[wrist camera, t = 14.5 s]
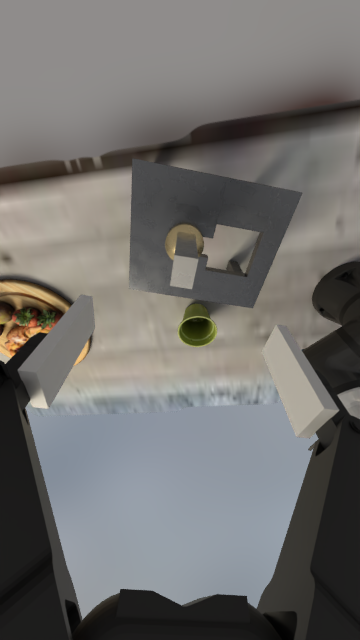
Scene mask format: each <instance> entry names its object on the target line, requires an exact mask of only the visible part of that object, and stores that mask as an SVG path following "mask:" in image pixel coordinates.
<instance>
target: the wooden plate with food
mask: <svg viewBox="0 0 360 640" xmlns="http://www.w3.org/2000/svg"><path fill="white" fill-rule="evenodd" d="M71 306H72V305H71V304H70V303H69V302H67V301H66V300H65V299H64V298H62V297H61V296H59V295H58V294H56V293H55V292H53V291H51V290H49V289H47V288H44V287H42V286H40V285H37V284H34V283H31V282H26V281H21V280H12V279H7V280H0V352H1V353H3V354H4V355H6V356H8V357H9V358H12V357H13V356H14V355H15V354H16V352H17V351H19V349H20V348H21V347H22V346H24V344H25V343H26V342H27V341H28V339H29V338H30V337H32V336H34V335H36V334H37V333H39V332H42V333H49V332H50V331H51V330H52V328H53V327H54V326H55V325H56V324H57V322H58V321H59V320H60V319H61V318H62V317H63V315H64V314H65V313H66V312H67V311H68V309H69V308H70V307H71ZM90 343H91V339H90V338H89V339H88V341H87V343H86V345H85V346H84V348H83V350H82V352H81V353H80V355H79V357H78V359H77V360H76V362H75V364H74V365H76V364H78V363H79V362H81V361H82V360H83V359H84V358H85V357H86V355H87V354H88V352H89V349H90ZM74 365H73V366H74Z"/></svg>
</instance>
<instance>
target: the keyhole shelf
mask: <svg viewBox="0 0 360 640" xmlns="http://www.w3.org/2000/svg"><path fill="white" fill-rule="evenodd" d="M301 195H302V193H301V192H297V191H292V190H287V189H282V188H277V187H272V186H267V185H262V184H257V183H252V182H247V181H242V180H237V179H232V178H227V177H222V176H217V175H212V174H207V173H202V172H197V171H192V170H187V169H183V168H178V167H173V166H168V165H163V164H158V163H153V162H148V161H143V160H138V159H133V161H132V198H131V235H130V271H129V289H133V290H139V291H146V292H152V293H159V294H165V295H171V296H178V297H184V298H191V299H197V300H203V301H210V302H216V303H223V304H229V305H236V306H242V307H248V308H253V306H254V304H255V302H256V299H257V297H258V295H259V293H260V290H261V288H262V286H263V283H264V281H265V279H266V276H267V274H268V272H269V269H270V267H271V265H272V262H273V260H274V258H275V255H276V253H277V251H278V248H279V246H280V244H281V241H282V239H283V237H284V234H285V232H286V230H287V228H288V225H289V223H290V221H291V218H292V216H293V214H294V211H295V209H296V207H297V204H298V202H299V200H300V197H301ZM182 223H188V224H191V225H193V226H195V227H196V228H197V229H198V230H199V231H200V232H201V234H202V236H203V237H208V238H213V236H214V232H215V228H216V224H220V225H225V226H231V227H236V228H242V229H247V230H252V231H258V232H260V234H259V237H258V240H257V242H256V245H255V248H254V250H253V253H252V256H251V259H250V261H249V264H248V267H247V270H246V272H245V273H243V272H242V270H241V268H240V266H239V265H238V263H237V262H234V261H229V262H228V265H227V268H226V269H227V270H221V269H215V268H209V267H206V264H207V260H208V256H207V255H205V254H201V255H200V257H199V258H198V259H199V260H198V264H197V269H196V273H195V278H194V282H193V287H192V289H187V288H181V287H175V286H170V282H171V275H172V267H173V260H172V259H171V258H170V257H169V255H168V254H167V252H166V248H165V241H166V237H167V234H168V232H169V231H170V230H171V229H172V228H173V227H174V226H176V225H178V224H182Z"/></svg>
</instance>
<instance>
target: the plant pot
mask: <svg viewBox="0 0 360 640" xmlns="http://www.w3.org/2000/svg"><path fill="white" fill-rule="evenodd" d="M193 320H197V321H193ZM216 335H217V327H216V324H215V323H214V322H213V321H212V320H211V318H210V316H209V314H208V311H207V309H206V308H205V307H204V306H203V305H201V304H192V305H190V306H189V307H187V308H186V310H185V314H184V318H183V321H182V322H181V323H180V325H179V327H178V336H179V338H180V340H181V341H182V342H183V343H185V344H186V345H189V346H192V347H201V346H205V345H208V344H209V343H211V342H212V341H213V340H214V339H215V337H216Z"/></svg>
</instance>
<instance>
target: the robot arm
mask: <svg viewBox="0 0 360 640" xmlns="http://www.w3.org/2000/svg"><path fill="white" fill-rule="evenodd" d="M312 302H313V306H314V308H315V309H316V310H317V311H318V313H319V314H320V315H321V316H323V317H324V318H326V319H329V320H331V321H333V322H335V323H338V324H340V325H342V327H340V328H339V329H337V330H335V331H333V332H332V333H330V334H329V335H327V336H325V337H324V338H322V339H320V340H319V341H317V342H315V343H314V344H312V345H311V346H309V347H307V348H306V349H302V350H301V349H300V347H299V346H298V344H297V342H296V341H295V339H294V338H293V336H292V334H291V333H290V331H289V330H288V328H287V326H283V325H276V326H275V328H274V330H273V331H272V333H271V335H270V337H269V339H268V341H267V343H266V345H265V346H264V348H263V350H262V354H263V356H264V359H265V361H266V364H267V366H268V368H269V371H270V373H271V376H272V378H273V381H274V383H275V386H276V388H277V391H278V393H279V395H280V398H281V400H282V403H283V405H284V408H285V410H286V413H287V415H288V418H289V420H290V422H291V425H292V427H293V430H294V432H295V435H296V437H302V438H310V437H311V436H313V435H314V434H315V433H316V434H317V436H318V438H319V439H318V440H317V441H316V442H315V443H314V444H313V445H312V446H310V448H309V449H308V450H310V451H311V450H312V449H313V448H314V449H313V452H312V456H311V458H310V462H309V465H308V468H307V471H306V474H305V478H304V480H303V484H302V487H301V490H300V493H299V496H298V499H297V503H296V506H295V509H294V512H293V515H292V518H291V521H290V525H289V528H288V531H287V534H286V537H285V541H284V544H283V547H282V550H281V553H280V556H279V559H278V562H277V565H276V569H275V572H274V575H273V578H272V579H271V581H270V583H269V584H268V585H267V587H266V588H265V590H264V592H263V594H262V596H261V599H260V601H259V604H258V607H257V609H256V608H254V607H253V606H251V605H250V604H249V603H248V602H247V596H237V595H219V594H217V595H212V596H208V597H203V598H199V599H197V600H194V601H192V602H189V603H187V604H184V605H182V606H181V605H179V604H177V603H175V602H173V601H172V600H170V599H168V598H166V597H163V596H161V595H160V594H158V593H156V592H154V591H147V590H128V589H121V590H120V593H118V594H116V595H113V596H111V597H109V598H107V599H106V600H104V601H102V602H101V603H100V604H99V605H97V606H96V607H95V608H94V609H93V610H92V611H91V612H90V613H89V614H88V615H87V616H86V617H85V618H84V619H83V620H82V616H81V613H80V609H79V605H78V601H77V597H76V593H75V590H74V587H73V583H72V580H71V577H70V574H69V571H68V569H67V566H66V562H65V558H64V554H63V550H62V546H61V542H60V539H59V535H58V531H57V527H56V523H55V519H54V516H53V512H52V508H51V504H50V500H49V496H48V492H47V489H46V485H45V481H44V477H43V473H42V469H41V465H40V461H39V458H38V454H37V450H36V446H35V442H34V438H33V435H32V431H31V427H30V423H29V419H28V415H27V411H26V409H25V407H26V405H27V404H28V403H29V401H30V402H31V404H32V406H33V407H37V408H46V409H49V407H50V405H51V404H52V402H53V400H54V398H55V397H56V395H57V393H58V392H59V390H60V388H61V386H62V385H63V383H64V381H65V379H66V378H67V376H68V374H69V372H70V371H71V369H72V367H73V365H74V364H75V362H76V360H77V359H78V357H79V355H80V353H81V352H82V350H83V348H84V346H85V345H86V343H87V341H88V339H89V338H90V336H91V334H92V333H93V331H94V329H95V321H94V310H93V298H92V296H86V295H80V296H79V298H78V299H77V300H76V301H75V302H74V303H73V305H72V306H71V307H70V308H69V309H68V311H67V312H66V313H65V314H64V315H63V317H62V318H61V319H60V320H59V321H58V322H57V324H56V325H55V326H54V327H53V328H52V330H51V331H50V332H49V333H42V332H39V333H37V334H36V335H34V336H32V337H30V338H29V339H28V341H27V342H26V343H25V344H24V346H22V347H21V348H20V349H19V351H17V352H16V354H15V355H14V356H13V357H12V358H11V359H10V360H9V361H8V362H7V363H6V364H5V363H4V362H2V361H0V640H360V262H351V263H347V264H344V265H341V266H339V267H337V268H335V269H334V270H332V271H331V272H329V273H328V274H327V275H326V276H324V277H323V278H322V279H321V281H320V282H319V283H318V285H317V286H316V288H315V290H314V293H313V297H312Z"/></svg>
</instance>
